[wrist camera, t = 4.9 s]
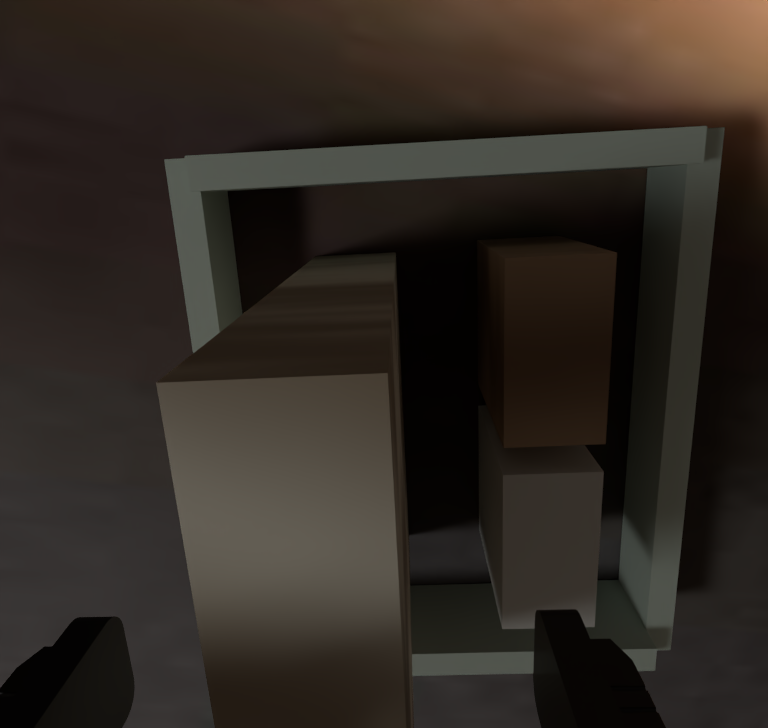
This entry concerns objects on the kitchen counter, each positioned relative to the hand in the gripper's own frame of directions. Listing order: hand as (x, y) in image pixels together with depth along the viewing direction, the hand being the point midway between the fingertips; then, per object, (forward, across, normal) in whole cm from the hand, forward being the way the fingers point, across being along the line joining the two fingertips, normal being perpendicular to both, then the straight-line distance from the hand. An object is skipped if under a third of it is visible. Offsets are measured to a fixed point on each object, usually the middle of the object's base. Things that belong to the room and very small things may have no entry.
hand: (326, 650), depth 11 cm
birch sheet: (+13, 0, 0) cm, 13 cm away
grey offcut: (+13, -6, +3) cm, 15 cm away
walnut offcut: (+13, -6, -4) cm, 15 cm away
